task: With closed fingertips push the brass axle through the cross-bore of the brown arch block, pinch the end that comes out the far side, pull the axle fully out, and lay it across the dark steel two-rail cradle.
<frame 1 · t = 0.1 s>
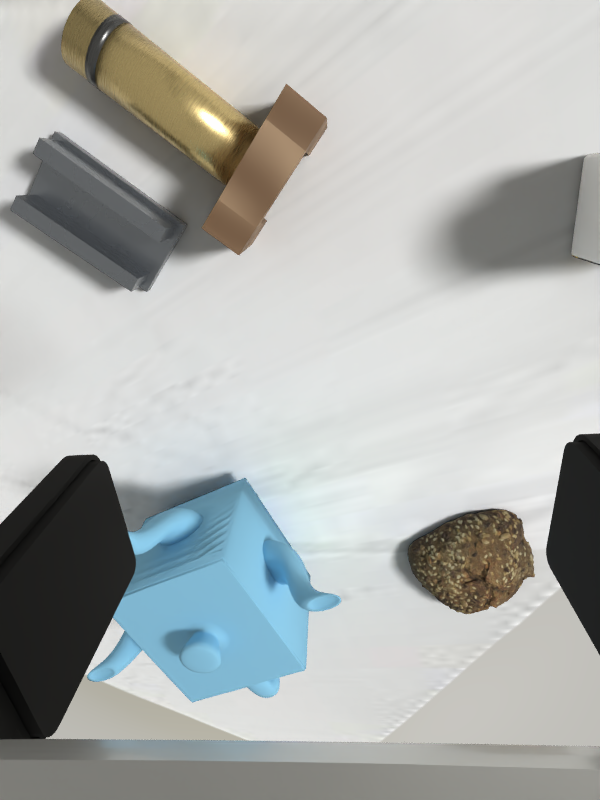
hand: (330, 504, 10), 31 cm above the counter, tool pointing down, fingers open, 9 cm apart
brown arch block: (271, 176, 35), on the counter
teakettle: (228, 527, 51), on the counter
bread roll: (471, 556, 51), on the counter
axle: (185, 109, 34), on the counter
cradle: (108, 216, 37), on the counter
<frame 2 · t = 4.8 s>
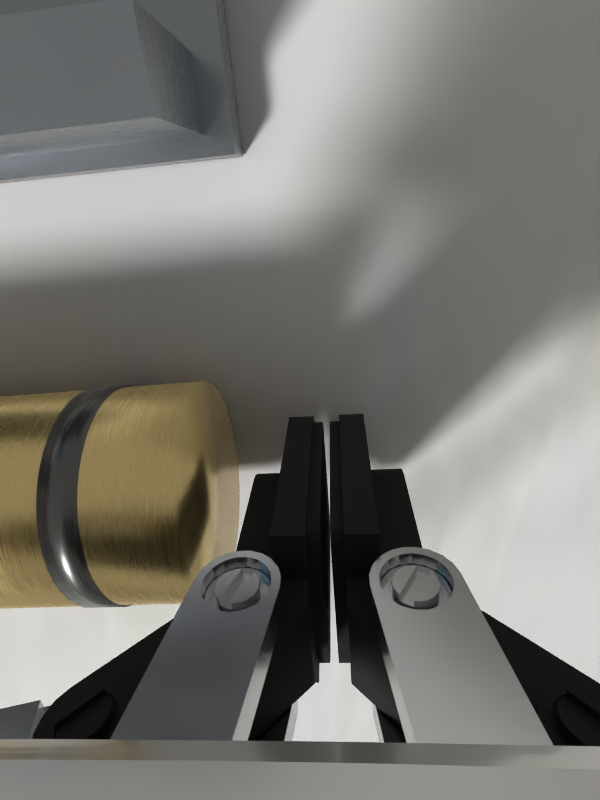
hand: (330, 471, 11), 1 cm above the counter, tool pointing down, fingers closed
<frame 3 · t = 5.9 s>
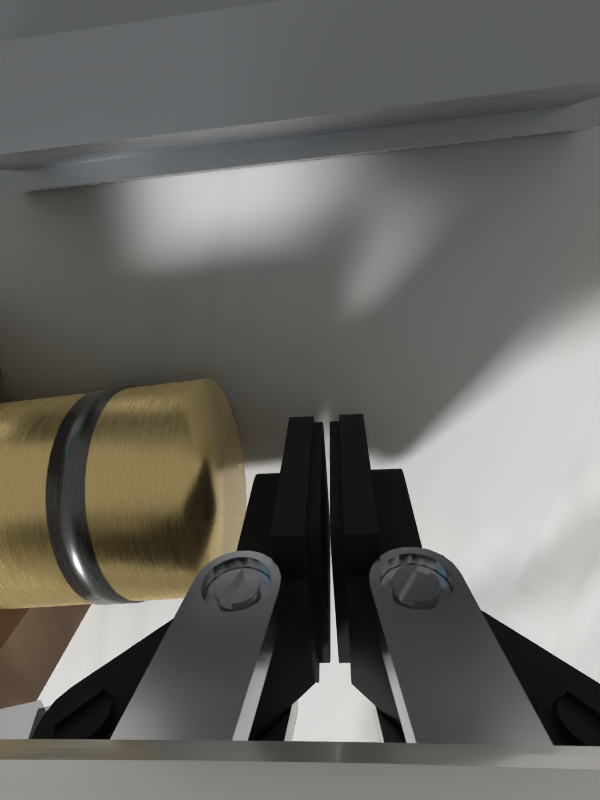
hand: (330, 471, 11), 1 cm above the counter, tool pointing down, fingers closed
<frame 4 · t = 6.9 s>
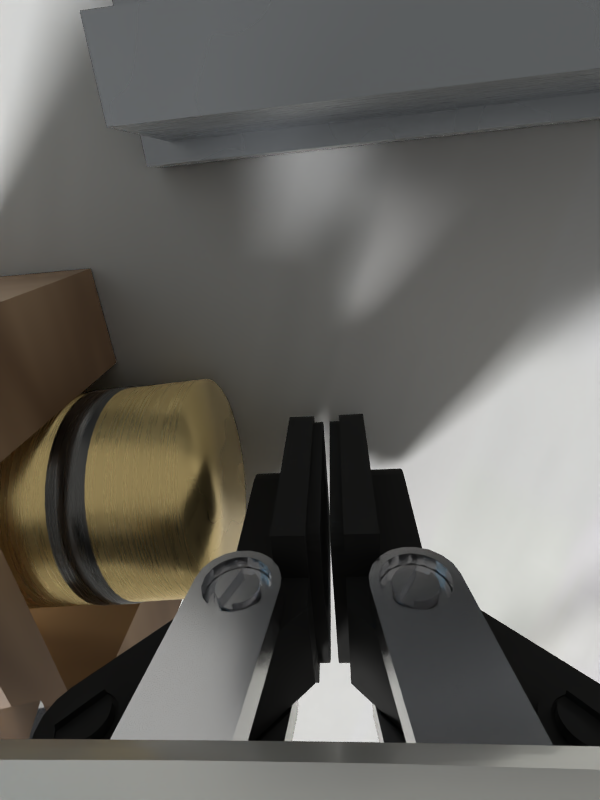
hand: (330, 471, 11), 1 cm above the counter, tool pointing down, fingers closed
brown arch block: (89, 464, 12), on the counter
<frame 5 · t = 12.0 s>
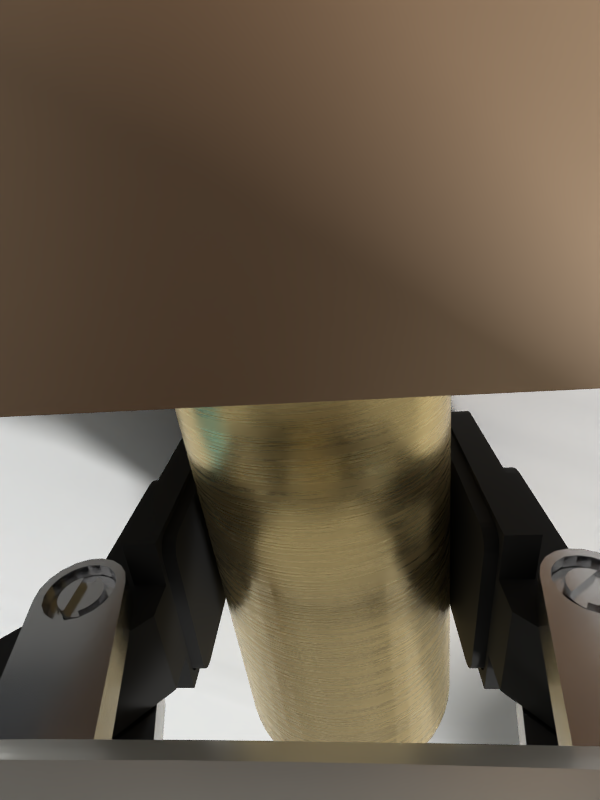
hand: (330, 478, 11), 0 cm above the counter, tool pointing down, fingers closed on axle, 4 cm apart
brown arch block: (316, 183, 8), on the counter
axle: (340, 341, 10), on the counter, tilted 14°, touching gripper
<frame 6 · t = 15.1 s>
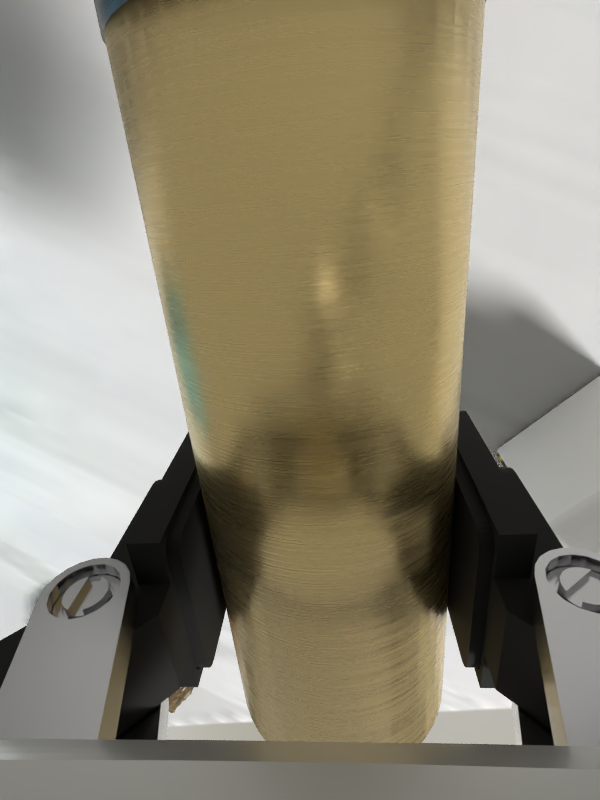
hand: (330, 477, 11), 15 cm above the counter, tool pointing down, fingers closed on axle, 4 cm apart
medicine bottle: (580, 448, 27), on the counter
bread roll: (130, 646, 37), on the counter
axle: (346, 339, 10), point 15 cm above the counter, tilted 14°, touching gripper
when the fingers open (4 cm above the counter, at t = 18.6 s): axle drops 1 cm, resting on cradle.
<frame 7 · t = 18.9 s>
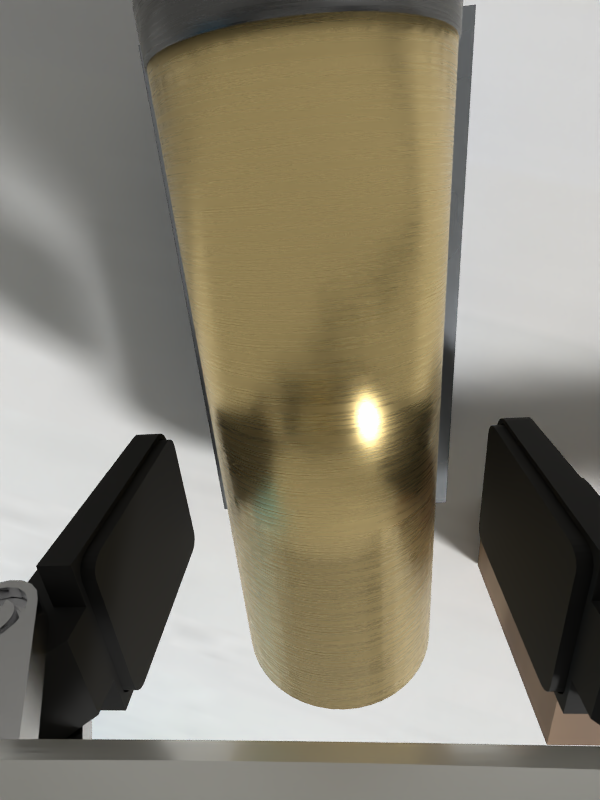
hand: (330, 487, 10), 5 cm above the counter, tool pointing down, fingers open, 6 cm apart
axle: (356, 325, 11), point 3 cm above the counter, tilted 21°, touching cradle
cradle: (322, 283, 13), on the counter
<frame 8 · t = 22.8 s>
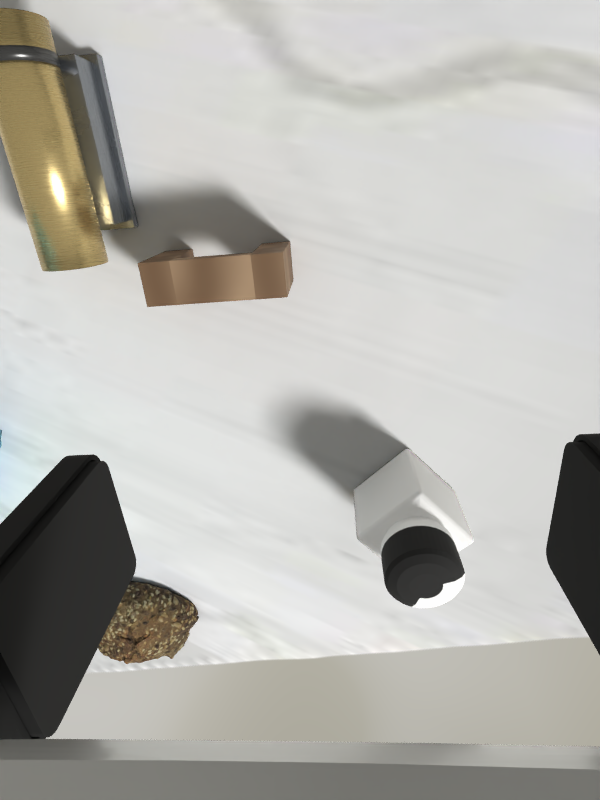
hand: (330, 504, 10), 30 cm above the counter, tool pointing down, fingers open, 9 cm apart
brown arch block: (229, 265, 38), on the counter
medicine bottle: (403, 489, 46), on the counter
bread roll: (144, 614, 56), on the counter
axle: (72, 155, 32), point 3 cm above the counter, tilted 21°, touching cradle
cradle: (79, 151, 35), on the counter
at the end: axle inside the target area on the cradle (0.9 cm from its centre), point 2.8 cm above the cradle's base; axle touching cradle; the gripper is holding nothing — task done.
